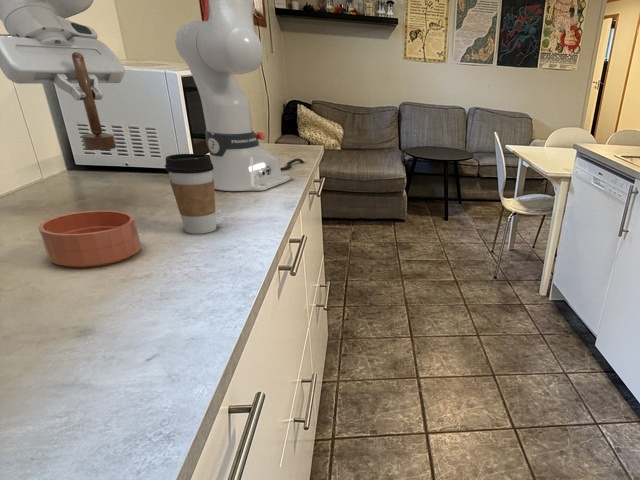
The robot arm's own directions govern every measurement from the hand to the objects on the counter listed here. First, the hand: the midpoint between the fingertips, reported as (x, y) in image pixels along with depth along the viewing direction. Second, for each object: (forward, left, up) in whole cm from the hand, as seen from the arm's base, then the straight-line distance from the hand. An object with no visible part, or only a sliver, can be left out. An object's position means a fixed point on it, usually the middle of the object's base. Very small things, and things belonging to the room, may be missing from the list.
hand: (90, 98), depth 91 cm
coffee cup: (-4, +20, -24) cm, 31 cm away
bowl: (+15, +17, -23) cm, 33 cm away
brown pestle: (0, -1, -9) cm, 9 cm away
